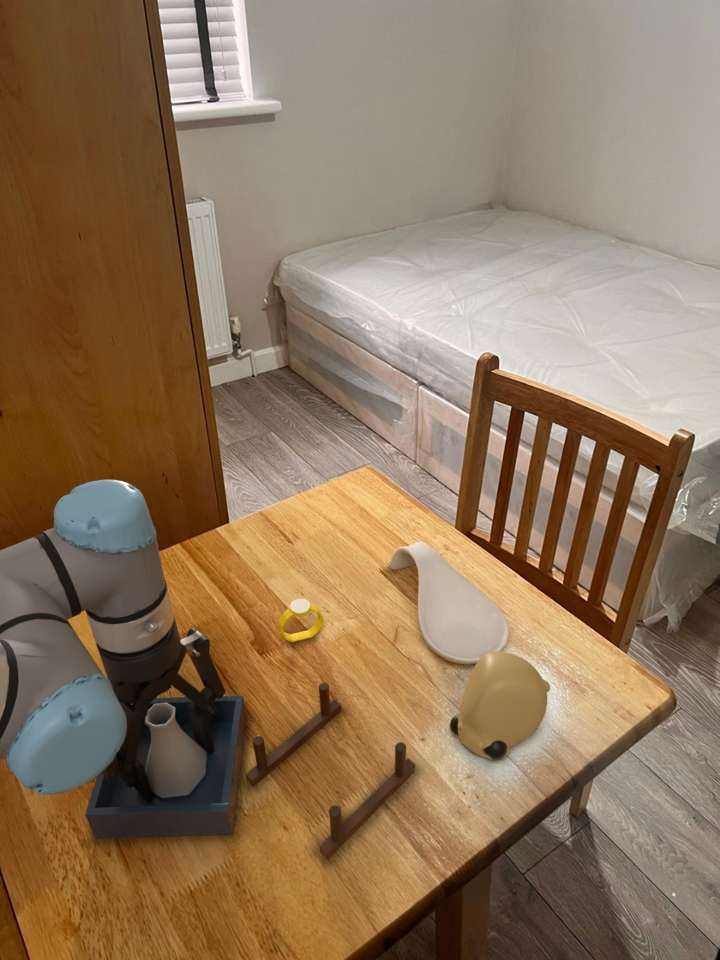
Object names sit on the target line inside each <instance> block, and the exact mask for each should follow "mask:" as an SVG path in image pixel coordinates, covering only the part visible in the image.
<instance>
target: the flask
mask: <svg viewBox="0 0 720 960" xmlns="http://www.w3.org/2000/svg"><path fill="white" fill-rule="evenodd" d="M175 711H176V708H175V707H174V706H172V705H170V704H168V703H159V704H154V705H153V706H152V707H151V708H150V709H149V710H148V712H147V716H146V717H145V725H147V726H149V728H150V732H151V745H150V749H149V753H148V757H147V761H146V767H145V772H146V775H147V778H148V781H149V785H150V788H151V791H152V792H153V793H155V794H156V795H158V796H159V797H161V798H167V797H175V796H184V795H189V794H190V793H191V791H192V790H193V789H194V788H195V787H196V785H197V784H198V783H199V782H200V780H201V779H202V778H203V777H204V776H205V774H206V758H207V752H206V751H205V750H204V749H203V748H202V747H200V746H199V745H198V744H197V743H196V742H194V741H193V740H192V739H191V738H190V737H189V736H188V735H187V734H186V733H185V732H184V731H183V730H181V728H180V726H179V725H178V723H177V722H176V719H175Z"/></svg>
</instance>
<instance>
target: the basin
mask: <svg viewBox="0 0 720 960" xmlns="http://www.w3.org/2000/svg"><path fill="white" fill-rule="evenodd" d="M191 702H192V701H191V700H190V699H188V698H187V697H186V696H172V697H171V696H169V697H167V696H165V697H156V698H155V699H154V700H153V701H152V702H150V703H149V707H148V710H149V709H150V708H151V707H152V706H153V705H154V704H159V703H168V704H170V705H172V706H174V707H175V708H176V711H175V719H176V722H177V723H178V725H179V726H180V728H181V730H183V731H184V732H185V733H186V734H187V735H188V736H189V737H190V738H191V739H192V740H193V741H194V742H196V741H195V737H194V733H193V729H192V725H191V721H190V717H189V713H188V709H187V705H189V704H190V703H191ZM194 704H195V703H194ZM213 704H214V705H215V706H216V707H217V712H216V713H215V714H214V720H215V721H214V724H213V725H212V726H211V727H210V733H211V737H212V741H213V746H214V750H215V751H214V752H213V753H211V754H210V755H209V754H208V753H207V758H206V774H205V776H204V777H203V778H202V779H201V780H200V782H199V783H198V784H197V785H196V787H195V788H194V789H193V790H192V791H191V793H190V794H189V795H184V796H175V797H167V798H161V797H159V796H158V795H156V794H155V793H153V792H152V794H153V797H154V800H153V801H151V802H150V803H149V804H148V803H147V802H146V801H145V799H144V798H143V797H142V796H141V795H140V794H139V793H138V791H137V790H136V789H135V787H132V788H130V787H128V785H127V784H126V783H125V782H124V781H123V780H122V778H121V775H120V773H118V775H117V776H116V778H114V779H113V780H108V779H107V778H106V777H105V776H104V774H103V773H102V772H101V773H100V774H99V775H97V776H96V777H95V781H94V784H93V788H92V792H91V795H90V798H89V801H88V803H87V804H88V805H87V808H86V812H85V818H86V821H87V823H88V826H89V828H90V830H91V832H92V834H93V835H92V836H93V838H94V839H95V840H110V839H111V840H112V839H138V838H139V839H142V838H171V837H201V836H202V837H203V836H205V837H206V836H230V835H232V836H233V834H234V828H235V821H236V812H237V805H238V798H239V797H238V796H239V789H240V781H241V773H242V766H243V765H242V764H243V756H244V750H245V749H244V748H245V741H246V740H245V739H246V732H247V724H248V716H247V710H246V703H245V700H244V695H243V694H233V695H232V694H231V695H229V694H228V695H224V696H223V697H222V698H220V699H217V698H216V699H215V700H214V702H213ZM196 743H197V742H196ZM197 744H198V743H197ZM150 745H151V732H150V728H149V726H147V725H145V717H143V722H142V728H141V733H140V739H139V745H138V750H137V756H136V757H137V758H138V759H139V760H140V761H141V762H142V763H143V766H144V769H145V767H146V761H147V757H148V753H149V749H150ZM198 745H199V744H198ZM199 746H200V745H199ZM200 747H201V746H200Z"/></svg>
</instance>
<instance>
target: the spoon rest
mask: <svg viewBox="0 0 720 960" xmlns="http://www.w3.org/2000/svg"><path fill="white" fill-rule="evenodd" d="M389 564H390V565H389V567H390V569H391V570H394V571H397V570H402V569H406V568H408V567H412V566H414V565H415V566H416V569H417V576H418V578H417V579H418V588H417V589H418V590H417V619H418V626H419V630H420V632H421V636H422V638H423V639H424V641H425V643H426V644H427V646H428V647H429V649H430V650H431V651H432V652H434V653H435V654H436V655H438V656H439V657H440V658H442V659H444V660H446V661H449V662H451V663H455V664H460V665H476V664H477V662H478V660H479V659H480V658H481V657H482V656H483V655H485V654H487V653H490V652H503V650H504V649H505V648H506V646H507V645H508V642H509V640H510V627H509V622H508V620H507V617H506V616H505V614H504V612H503V611H502V609H501V608H500V607H499V606H498V605H497V603H496V602H495V601H494V600H492V599H491V598H490V597H489V596H488V595H487V594H486V593H485V592H483V591H482V590H481V589H480V588H478V587H477V586H476V585H475V584H474V583H473V582H472V581H470V580H469V579H467V578H466V577H465V576H464V575H463V574H461V573H460V572H459V571H458V570H457V569H456V568H454V567H453V566H452V564H450V563H449V562H448V561H447V560H445V558H443V557H442V556H441V555H440V554H439V553H438V552H437V551H436V550H435V549H434V548H433V547H432V546H431V545H429V544H427V543H425V542H423V541H417V542H415V543H413V544H410V545H404V546H400V547H399V548H397V549H396V550H395V551H394V553H393V554H392V557H391V560H390V563H389Z"/></svg>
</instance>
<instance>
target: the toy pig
mask: <svg viewBox="0 0 720 960" xmlns="http://www.w3.org/2000/svg"><path fill="white" fill-rule="evenodd" d="M550 690H551V684H550V683H549V682H548V681H547V680H546V679H544V678H543V677H542V676H541V674H540V673H539V671H538V670H537V668H536V667H534V666H533V665H532V664H531V663H530V662H529V661H527V659H525V658H523V657H522V656H519V655H517V654H514V653H511V652H506V651H501V652H490V653H487V654H485V655H483V656H482V657H481V658H480V659H479V660H478V662H477V663H476V664H474V666H473V669H472V670H471V673H470V675H469V678H468V680H467V682H466V685H465V687H464V690H463V693H462V696H461V702H460V706H459V707H460V708H459V713H458V714H455V715H454V716H453V717H452V718H451V720H450V722H449V730H450V731H451V733H452V734H453V735H454V736H456V737H457V738H458V739H459V741H460V742H461V743H462V744H463V745H464V746H465V747H466V748H467V749H468V750H469V751H471V752H473V753H474V754H476V755H478V756H480V757H483V758H485V759H488V760H493V761H499V760H502V759H504V758H506V757H507V756H509V753H510V747H512V746H514V745H516V744H519V743H521V742H523V741H525V740H526V739H528V738H529V737H530V736H532V735H533V733H534V732H536V731H537V729H538V728H539V726H540V725H541V723H542V722H543V720H544V717H545V714H546V711H547V708H548V707H547V706H548V692H550Z"/></svg>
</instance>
